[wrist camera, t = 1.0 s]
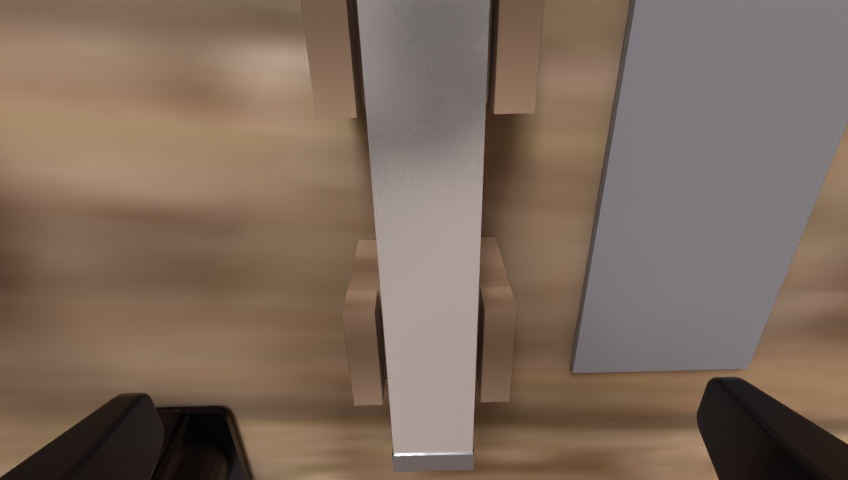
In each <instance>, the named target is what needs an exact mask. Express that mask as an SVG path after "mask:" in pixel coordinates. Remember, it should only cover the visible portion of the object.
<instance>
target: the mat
mask: <svg viewBox="0 0 848 480" xmlns="http://www.w3.org/2000/svg"><path fill="white" fill-rule="evenodd" d="M847 123H848V0H631V2H630V8H629V14H628V20H627V26H626V32H625V38H624V44H623V50H622V56H621V62H620V68H619V74H618V80H617V86H616V92H615V98H614V105H613V111H612V117H611V123H610V129H609V135H608V141H607V147H606V153H605V159H604V165H603V171H602V177H601V183H600V189H599V195H598V202H597V208H596V214H595V220H594V226H593V232H592V238H591V244H590V250H589V256H588V262H587V268H586V274H585V280H584V286H583V292H582V298H581V305H580V311H579V317H578V323H577V329H576V335H575V341H574V347H573V353H572V359H571V365H570V368H571V370H572V373H604V372H643V371H683V370H722V369H748V367H749V365H750V362H751V360H752V357H753V355H754V352H755V350H756V348H757V345H758V343H759V340H760V338H761V335H762V333H763V330H764V328H765V325H766V323H767V320H768V318H769V315H770V313H771V310H772V308H773V305H774V303H775V301H776V298H777V296H778V293H779V291H780V288H781V286H782V283H783V281H784V278H785V276H786V273H787V271H788V268H789V266H790V263H791V261H792V259H793V256H794V254H795V251H796V249H797V246H798V244H799V241H800V239H801V236H802V234H803V231H804V229H805V226H806V224H807V221H808V219H809V216H810V214H811V212H812V209H813V207H814V204H815V202H816V199H817V197H818V194H819V192H820V189H821V187H822V184H823V182H824V179H825V177H826V174H827V172H828V170H829V167H830V165H831V162H832V160H833V157H834V155H835V152H836V150H837V147H838V145H839V142H840V140H841V137H842V135H843V132H844V130H845V128H846V125H847Z"/></svg>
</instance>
